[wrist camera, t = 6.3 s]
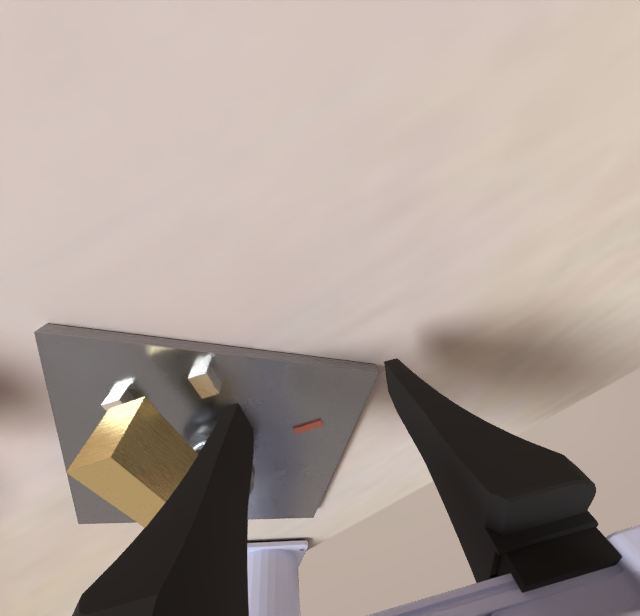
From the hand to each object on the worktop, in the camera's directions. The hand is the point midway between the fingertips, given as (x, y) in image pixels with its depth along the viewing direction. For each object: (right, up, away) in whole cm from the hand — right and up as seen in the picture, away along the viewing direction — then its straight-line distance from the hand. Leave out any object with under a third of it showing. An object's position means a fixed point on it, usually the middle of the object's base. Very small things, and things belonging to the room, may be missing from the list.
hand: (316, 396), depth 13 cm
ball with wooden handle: (-7, -4, +3) cm, 9 cm away
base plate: (-7, -5, +6) cm, 11 cm away
